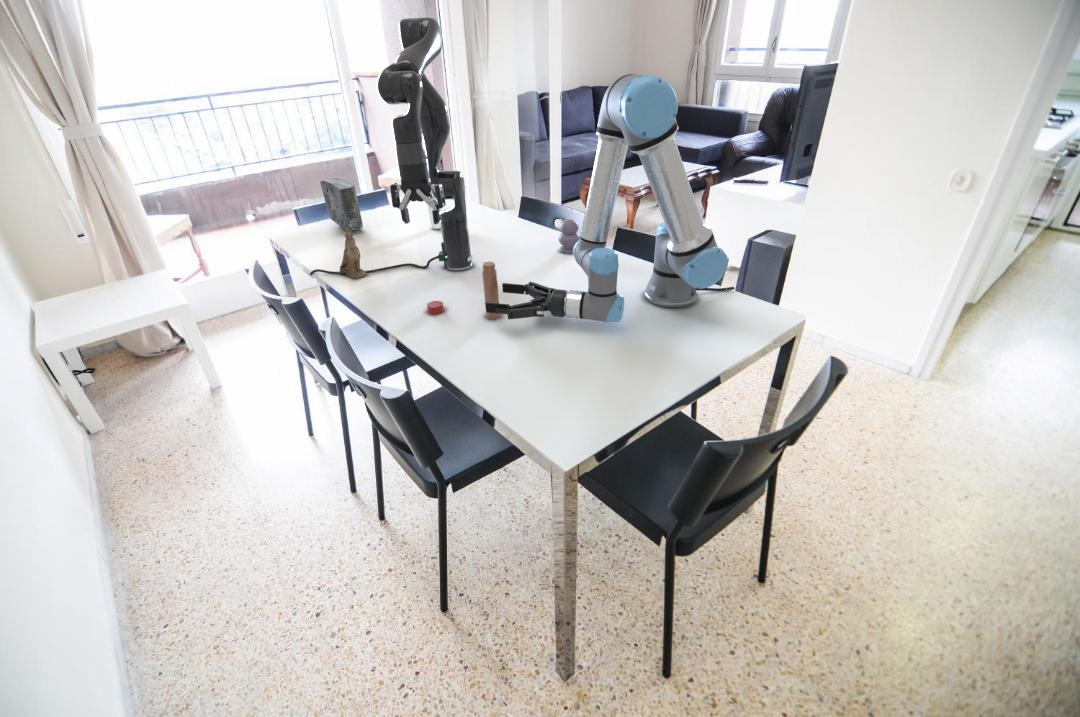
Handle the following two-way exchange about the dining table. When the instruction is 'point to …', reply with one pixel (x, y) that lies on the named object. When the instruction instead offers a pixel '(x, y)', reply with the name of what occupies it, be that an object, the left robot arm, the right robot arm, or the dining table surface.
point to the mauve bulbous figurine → (568, 235)
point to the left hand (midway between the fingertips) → (422, 223)
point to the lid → (435, 307)
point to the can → (432, 225)
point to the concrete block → (342, 203)
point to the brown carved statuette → (351, 258)
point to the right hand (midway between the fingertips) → (494, 297)
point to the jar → (490, 286)
